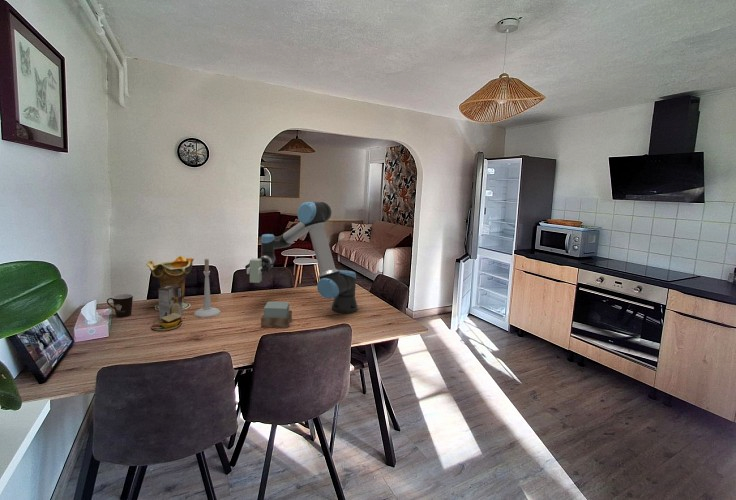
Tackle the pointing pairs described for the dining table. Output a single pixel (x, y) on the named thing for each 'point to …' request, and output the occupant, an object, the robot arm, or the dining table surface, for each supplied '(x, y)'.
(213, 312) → the candlestick
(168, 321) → the toy sandwich meal
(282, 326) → the walnut base block
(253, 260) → the sage pillar block
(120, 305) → the coffee mug
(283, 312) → the slate top block
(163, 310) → the coffee box
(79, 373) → the dining table surface
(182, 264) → the decorative vase
